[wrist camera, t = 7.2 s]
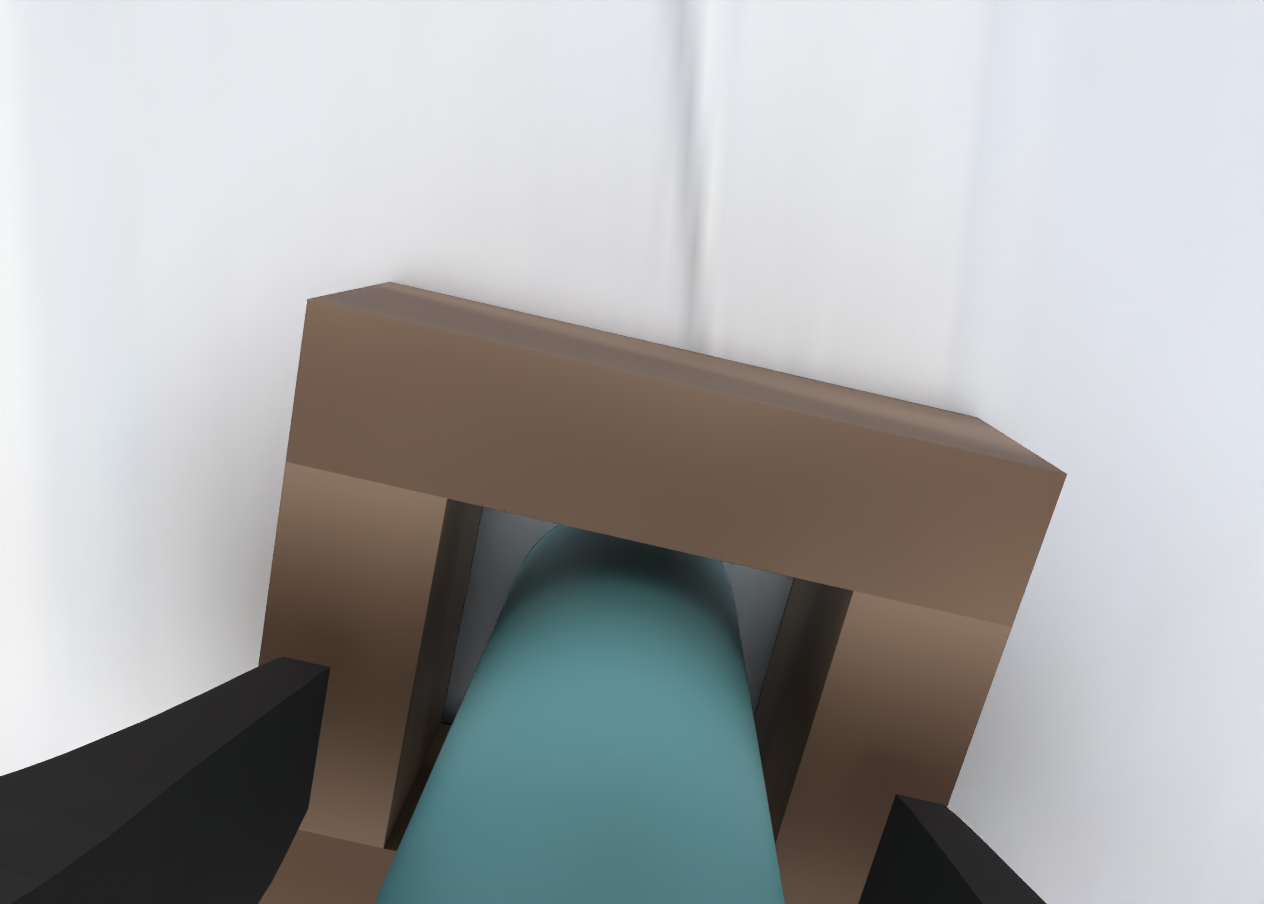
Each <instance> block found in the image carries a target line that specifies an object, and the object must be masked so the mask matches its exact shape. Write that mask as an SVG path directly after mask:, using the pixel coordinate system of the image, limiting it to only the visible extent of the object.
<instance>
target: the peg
mask: <svg viewBox="0 0 1264 904" xmlns="http://www.w3.org/2000/svg"><path fill="white" fill-rule="evenodd" d="M374 904H785V901H784V895H783V889H782V883H781V877H780V871H779V865H778V859H777V853H776V848H775V842H774V836H773V830H772V824H771V818H770V812H769V806H768V800H767V794H766V788H765V782H764V776H763V770H762V764H761V758H760V752H759V746H758V740H757V734H756V728H755V722H754V716H753V710H752V704H751V698H750V692H749V686H748V680H747V675H746V669H745V663H744V657H743V651H742V645H741V639H740V633H739V627H738V621H737V615H736V609H735V603H734V597H733V592H732V587H731V584H730V581H729V578H728V575H727V573H726V571H725V569H724V567H723V565H722V563H721V561H720V560H716V559H711V558H707V557H702V556H698V555H694V554H689V553H685V552H680V551H676V550H672V549H667V548H663V547H658V546H654V545H650V544H645V543H641V542H636V541H632V540H628V539H623V538H619V537H614V536H610V535H606V534H601V533H597V532H593V531H588V530H584V529H579V528H575V527H571V526H566V525H562V524H559V525H558V526H556V527H554V528H553V529H552V530H551V531H549V532H548V533H547V534H546V535H545V536H543V537H542V538H541V539H540V541H539V542H538V543H537V544H536V545H535V546H534V547H533V548H532V550H531V551H530V553H529V554H528V556H527V557H526V558H525V560H524V562H523V564H522V566H521V568H520V570H519V572H518V575H517V577H516V579H515V582H514V584H513V586H512V588H511V591H510V593H509V595H508V598H507V600H506V602H505V605H504V607H503V609H502V611H501V614H500V616H499V618H498V621H497V623H496V625H495V627H494V630H493V632H492V634H491V637H490V639H489V641H488V643H487V646H486V648H485V650H484V653H483V655H482V657H481V660H480V662H479V664H478V666H477V669H476V671H475V673H474V676H473V678H472V680H471V682H470V685H469V687H468V689H467V692H466V694H465V696H464V698H463V701H462V703H461V705H460V708H459V710H458V712H457V715H456V717H455V719H454V721H453V724H452V726H451V728H450V731H449V733H448V735H447V737H446V740H445V742H444V744H443V747H442V749H441V751H440V753H439V756H438V758H437V760H436V763H435V765H434V767H433V770H432V772H431V774H430V776H429V779H428V781H427V783H426V786H425V788H424V790H423V792H422V795H421V797H420V799H419V802H418V804H417V806H416V808H415V811H414V813H413V815H412V818H411V820H410V822H409V825H408V827H407V829H406V831H405V834H404V836H403V838H402V841H401V843H400V845H399V847H398V850H397V852H396V854H395V857H394V859H393V861H392V863H391V866H390V868H389V870H388V873H387V875H386V877H385V880H384V882H383V884H382V886H381V889H380V891H379V893H378V896H377V898H376V900H375V902H374Z"/></svg>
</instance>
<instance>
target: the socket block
mask: <svg viewBox="0 0 1264 904" xmlns="http://www.w3.org/2000/svg"><path fill="white" fill-rule="evenodd" d="M1066 475H1067V474H1066V473H1064V472H1063V471H1061V470H1060V469H1058V468H1056V467H1055V466H1053V465H1052V464H1050V463H1049V462H1047V461H1045V460H1044V459H1042V458H1041V457H1039V456H1038V455H1036V454H1034V453H1033V452H1031V451H1030V450H1028V449H1026V448H1025V447H1023V446H1022V445H1020V444H1019V443H1017V442H1015V441H1014V440H1012V439H1011V438H1009V437H1007V436H1006V435H1004V434H1003V433H1001V432H1000V431H998V430H996V429H995V428H993V427H992V426H990V425H989V424H987V423H985V422H984V421H982V420H981V419H979V418H977V417H972V416H968V415H964V414H959V413H955V412H951V411H946V410H942V409H938V408H933V407H929V406H925V405H920V404H916V403H912V402H907V401H903V400H899V399H894V398H890V397H886V396H881V395H877V394H873V393H868V392H864V391H860V390H855V389H851V388H847V387H842V386H838V385H834V384H829V383H825V382H821V381H816V380H812V379H808V378H803V377H799V376H795V375H790V374H786V373H782V372H777V371H773V370H769V369H764V368H760V367H756V366H751V365H747V364H743V363H738V362H734V361H730V360H725V359H721V358H717V357H712V356H708V355H704V354H699V353H695V352H691V351H686V350H682V349H678V348H673V347H669V346H665V345H660V344H656V343H652V342H648V341H643V340H639V339H635V338H630V337H626V336H622V335H617V334H613V333H609V332H604V331H600V330H596V329H591V328H587V327H583V326H578V325H574V324H570V323H565V322H561V321H557V320H552V319H548V318H544V317H539V316H535V315H531V314H526V313H522V312H518V311H513V310H509V309H505V308H500V307H496V306H492V305H487V304H483V303H479V302H474V301H470V300H466V299H461V298H457V297H453V296H448V295H444V294H440V293H435V292H431V291H427V290H422V289H418V288H414V287H409V286H405V285H401V284H396V283H392V282H387V283H382V284H378V285H373V286H368V287H363V288H359V289H354V290H349V291H344V292H339V293H335V294H330V295H325V296H320V297H316V298H311V299H307V307H306V314H305V322H304V329H303V337H302V344H301V352H300V359H299V367H298V374H297V382H296V389H295V397H294V404H293V412H292V419H291V427H290V434H289V442H288V449H287V457H286V464H285V472H284V479H283V486H282V494H281V501H280V509H279V516H278V524H277V531H276V539H275V546H274V554H273V561H272V569H271V576H270V584H269V591H268V599H267V606H266V614H265V621H264V629H263V636H262V644H261V651H260V659H259V666H261V665H263V664H265V663H268V662H270V661H272V660H275V659H277V658H280V657H282V656H283V657H288V658H292V659H296V660H301V661H305V662H310V663H314V664H319V665H323V666H328V667H330V673H329V680H328V686H327V693H326V699H325V705H324V712H323V718H322V725H321V731H320V737H319V744H318V750H317V757H316V763H315V770H314V776H313V782H312V789H311V795H310V802H309V808H308V810H307V812H306V814H305V816H304V818H303V821H302V823H301V825H300V827H299V829H298V831H297V833H296V835H295V837H294V839H293V841H292V843H291V845H290V847H289V849H288V851H287V853H286V855H285V857H284V859H283V861H282V863H281V865H280V867H279V869H278V871H277V873H276V875H275V877H274V879H273V881H272V883H271V884H270V886H269V887H268V889H267V891H266V892H265V894H264V895H263V897H262V898H261V900H260V902H259V903H258V904H374V902H375V900H376V898H377V896H378V893H379V891H380V889H381V886H382V884H383V882H384V880H385V877H386V875H387V873H388V870H389V868H390V866H391V863H392V861H393V859H394V857H395V854H396V852H397V850H398V847H399V845H400V843H401V841H402V838H403V836H404V834H405V831H406V829H407V827H408V825H409V822H410V820H411V818H412V815H413V813H414V811H415V808H416V806H417V804H418V802H419V799H420V797H421V795H422V792H423V790H424V788H425V786H426V783H427V781H428V779H429V776H430V774H431V772H432V770H433V767H434V765H435V763H436V760H437V758H438V756H439V753H440V751H441V749H442V747H443V744H444V742H445V740H446V737H447V735H448V733H449V731H450V728H451V726H452V725H447V724H443V723H441V720H442V715H443V709H444V704H445V699H446V694H447V689H448V684H449V678H450V673H451V668H452V663H453V658H454V652H455V647H456V642H457V637H458V632H459V627H460V621H461V616H462V611H463V606H464V601H465V595H466V590H467V585H468V580H469V575H470V570H471V564H472V559H473V554H474V549H475V544H476V538H477V533H478V528H479V523H480V518H481V513H482V507H487V508H491V509H496V510H500V511H505V512H509V513H513V514H518V515H522V516H527V517H531V518H535V519H540V520H544V521H549V522H553V523H557V524H562V525H566V526H571V527H575V528H579V529H584V530H588V531H593V532H597V533H601V534H606V535H610V536H614V537H619V538H623V539H628V540H632V541H636V542H641V543H645V544H650V545H654V546H658V547H663V548H667V549H672V550H676V551H680V552H685V553H689V554H694V555H698V556H702V557H707V558H711V559H716V560H720V561H724V562H729V563H733V564H738V565H742V566H746V567H751V568H755V569H759V570H764V571H768V572H773V573H777V574H781V575H786V576H790V577H795V578H794V581H793V585H792V588H791V592H790V595H789V599H788V602H787V605H786V609H785V612H784V616H783V619H782V623H781V626H780V629H779V633H778V636H777V640H776V643H775V647H774V650H773V654H772V657H771V660H770V664H769V667H768V671H767V674H766V678H765V681H764V685H763V688H762V691H761V695H760V698H759V702H758V705H757V709H756V712H755V716H754V722H755V728H756V734H757V740H758V746H759V752H760V758H761V764H762V770H763V776H764V782H765V788H766V794H767V800H768V806H769V812H770V818H771V824H772V830H773V836H774V842H775V848H776V853H777V859H778V865H779V871H780V877H781V883H782V889H783V895H784V901H785V904H858V903H859V900H860V897H861V894H862V891H863V888H864V886H865V883H866V880H867V877H868V874H869V871H870V868H871V865H872V862H873V859H874V856H875V853H876V851H877V848H878V845H879V842H880V839H881V836H882V833H883V830H884V827H885V824H886V821H887V818H888V816H889V813H890V810H891V807H892V804H893V801H894V798H895V795H896V794H898V795H903V796H907V797H912V798H916V799H921V800H925V801H930V802H934V803H939V804H943V805H945V806H946V807H947V805H948V803H949V800H950V797H951V794H952V791H953V789H954V786H955V783H956V780H957V778H958V775H959V772H960V769H961V767H962V764H963V761H964V758H965V755H966V753H967V750H968V747H969V744H970V742H971V739H972V736H973V733H974V731H975V728H976V725H977V722H978V719H979V717H980V714H981V711H982V708H983V706H984V703H985V700H986V697H987V694H988V692H989V689H990V686H991V683H992V681H993V678H994V675H995V672H996V670H997V667H998V664H999V661H1000V658H1001V656H1002V653H1003V650H1004V647H1005V645H1006V642H1007V639H1008V636H1009V633H1010V631H1011V628H1012V625H1013V622H1014V620H1015V617H1016V614H1017V611H1018V609H1019V606H1020V603H1021V600H1022V597H1023V595H1024V592H1025V589H1026V586H1027V584H1028V581H1029V578H1030V575H1031V573H1032V570H1033V567H1034V564H1035V561H1036V559H1037V556H1038V553H1039V550H1040V548H1041V545H1042V542H1043V539H1044V536H1045V534H1046V531H1047V528H1048V525H1049V523H1050V520H1051V517H1052V514H1053V512H1054V509H1055V506H1056V503H1057V500H1058V498H1059V495H1060V492H1061V489H1062V487H1063V484H1064V481H1065V478H1066ZM259 666H258V667H259Z"/></svg>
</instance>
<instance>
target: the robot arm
mask: <svg viewBox="0 0 1264 904" xmlns="http://www.w3.org/2000/svg"><path fill="white" fill-rule="evenodd" d="M329 673H330V667H328V666H323V665H319V664H314V663H310V662H305V661H301V660H296V659H292V658H288V657H283V656H282V657H280V658H277V659H275V660H272V661H270V662H268V663H265V664H263V665H261V666H259V667H257V668H255V669H253V670H250V671H248V672H246V673H244V674H242V675H240V676H238V677H236V678H234V679H232V680H230V681H228V682H226V683H224V684H221V685H219V686H217V687H215V688H213V689H211V690H209V691H207V692H205V693H203V694H201V695H198V696H196V697H194V698H192V699H190V700H188V701H186V702H184V703H181V704H179V705H177V706H175V707H173V708H171V709H169V710H166V711H164V712H162V713H160V714H158V715H156V716H154V717H151V718H149V719H147V720H145V721H142V722H140V723H137V724H135V725H133V726H130V727H128V728H125V729H123V730H121V731H118V732H116V733H113V734H111V735H108V736H106V737H104V738H101V739H99V740H96V741H94V742H92V743H89V744H87V745H84V746H82V747H80V748H77V749H75V750H72V751H70V752H68V753H65V754H62V755H60V756H57V757H54V758H52V759H49V760H46V761H44V762H41V763H38V764H35V765H32V766H30V767H27V768H24V769H21V770H18V771H15V772H12V773H9V774H6V775H3V776H0V904H258V903H259V902H260V900H261V898H262V897H263V895H264V894H265V892H266V891H267V889H268V887H269V886H270V884H271V883H272V881H273V879H274V877H275V875H276V873H277V871H278V869H279V867H280V865H281V863H282V861H283V859H284V857H285V855H286V853H287V851H288V849H289V847H290V845H291V843H292V841H293V839H294V837H295V835H296V833H297V831H298V829H299V827H300V825H301V823H302V821H303V818H304V816H305V814H306V812H307V810H308V808H309V802H310V795H311V789H312V782H313V776H314V770H315V763H316V757H317V750H318V744H319V737H320V731H321V725H322V718H323V712H324V705H325V699H326V693H327V686H328V680H329ZM858 904H1046V903H1045V902H1044V901H1043V900H1042V899H1041V898H1040V897H1039V896H1038V895H1037V894H1036V893H1035V892H1034V891H1033V890H1032V889H1031V888H1030V887H1029V886H1028V885H1027V884H1026V883H1025V882H1024V881H1023V880H1022V879H1021V878H1020V877H1019V876H1018V875H1017V874H1016V873H1015V872H1014V871H1013V870H1012V869H1011V868H1010V867H1009V866H1008V865H1007V864H1006V863H1005V862H1004V861H1003V860H1002V859H1001V858H1000V857H999V856H998V855H997V854H996V853H995V852H994V851H993V850H992V849H991V848H990V847H989V846H988V845H987V844H986V843H985V842H984V841H983V840H982V839H981V838H980V837H979V836H978V835H977V834H976V833H975V832H974V831H973V830H972V829H971V828H969V827H968V826H967V825H966V824H965V823H964V822H963V821H962V820H961V819H960V818H959V817H958V816H956V815H955V814H954V813H953V812H952V811H951V810H949V809H948V808H947V807H946V806H945V805H943V804H939V803H934V802H930V801H925V800H921V799H916V798H912V797H907V796H903V795H898V794H896V795H895V798H894V801H893V804H892V807H891V810H890V813H889V816H888V818H887V821H886V824H885V827H884V830H883V833H882V836H881V839H880V842H879V845H878V848H877V851H876V853H875V856H874V859H873V862H872V865H871V868H870V871H869V874H868V877H867V880H866V883H865V886H864V888H863V891H862V894H861V897H860V900H859V903H858Z"/></svg>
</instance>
